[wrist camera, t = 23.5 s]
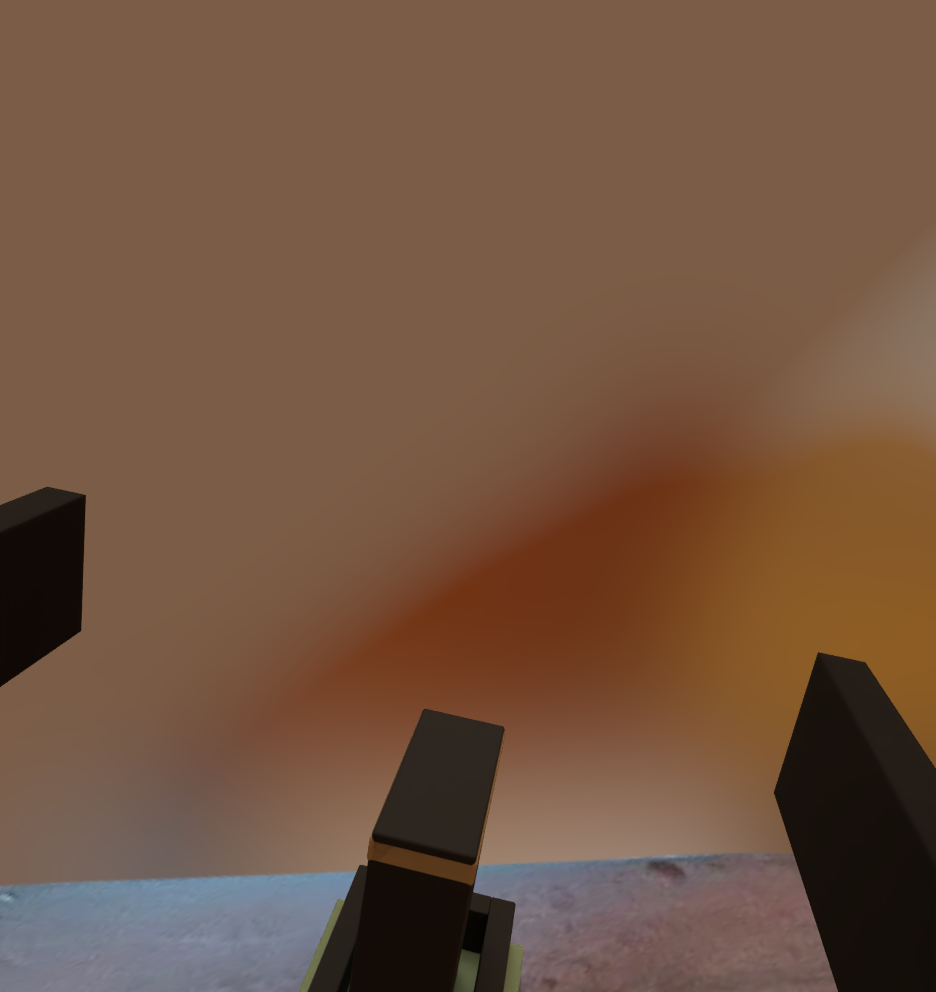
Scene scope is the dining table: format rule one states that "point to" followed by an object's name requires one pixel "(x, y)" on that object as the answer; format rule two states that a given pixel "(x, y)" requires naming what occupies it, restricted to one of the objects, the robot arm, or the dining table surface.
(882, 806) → the robot arm
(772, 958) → the dining table surface
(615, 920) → the dining table surface
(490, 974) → the black and green tray
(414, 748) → the dark brown banded block
